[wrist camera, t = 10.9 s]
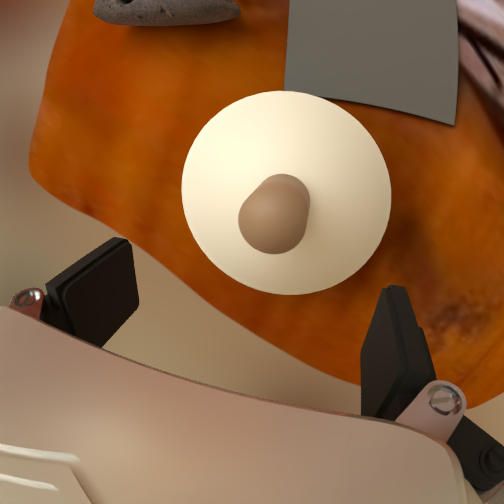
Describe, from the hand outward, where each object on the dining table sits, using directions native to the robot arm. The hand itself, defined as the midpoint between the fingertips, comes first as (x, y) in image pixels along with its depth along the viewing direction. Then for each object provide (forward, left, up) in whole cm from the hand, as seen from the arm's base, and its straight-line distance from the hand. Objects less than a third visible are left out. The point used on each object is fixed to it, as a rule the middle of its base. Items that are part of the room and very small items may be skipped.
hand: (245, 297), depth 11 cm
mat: (-7, -17, -21) cm, 28 cm away
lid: (0, 0, -14) cm, 14 cm away
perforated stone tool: (+13, -18, -21) cm, 31 cm away
